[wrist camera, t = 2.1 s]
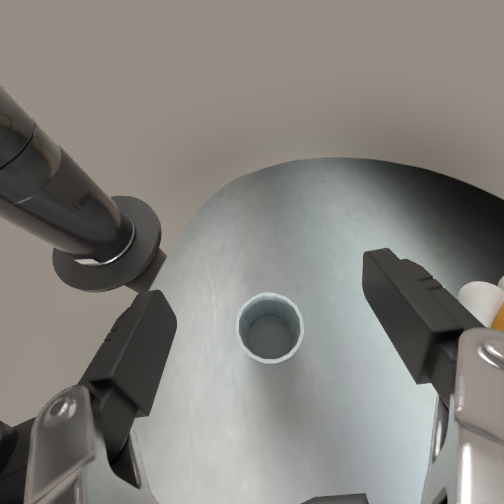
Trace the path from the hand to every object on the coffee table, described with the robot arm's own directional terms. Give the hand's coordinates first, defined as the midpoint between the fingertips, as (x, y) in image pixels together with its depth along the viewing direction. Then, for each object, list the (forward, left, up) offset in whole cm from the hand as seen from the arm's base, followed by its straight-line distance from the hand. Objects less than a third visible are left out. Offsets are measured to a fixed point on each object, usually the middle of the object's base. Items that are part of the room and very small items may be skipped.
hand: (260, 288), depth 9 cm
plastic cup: (0, 0, -22) cm, 22 cm away
